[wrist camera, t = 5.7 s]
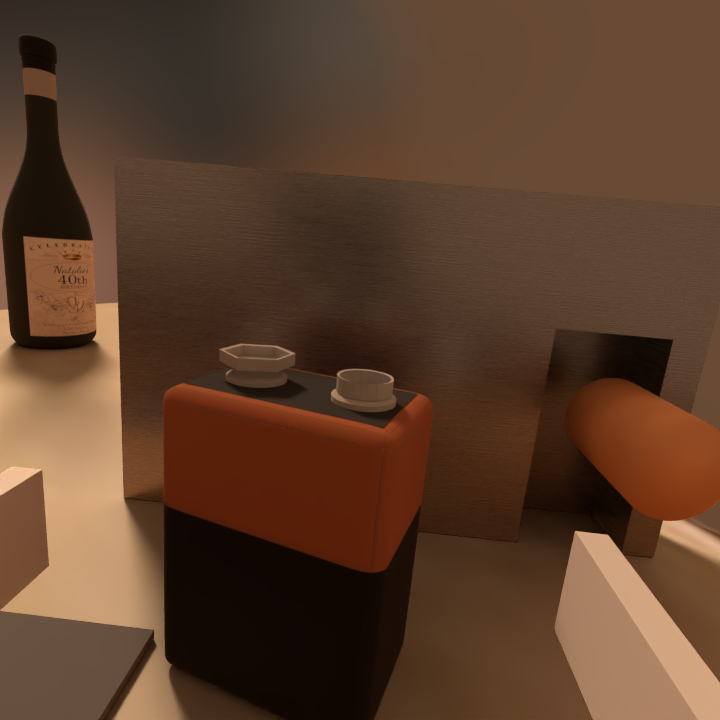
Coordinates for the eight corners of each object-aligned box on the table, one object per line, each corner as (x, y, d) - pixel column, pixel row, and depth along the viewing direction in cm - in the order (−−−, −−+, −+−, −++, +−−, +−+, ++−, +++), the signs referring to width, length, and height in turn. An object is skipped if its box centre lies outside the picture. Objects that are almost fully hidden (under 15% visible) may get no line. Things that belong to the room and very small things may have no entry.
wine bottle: (111, 343, 55) (102, 51, 48) (38, 354, 48) (15, 14, 41) (69, 332, 58) (55, 59, 51) (-5, 340, 51) (-33, 26, 44)
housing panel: (123, 497, 24) (113, 156, 20) (161, 462, 28) (158, 171, 24) (653, 557, 23) (744, 209, 19) (614, 512, 27) (684, 216, 23)
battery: (240, 582, 19) (248, 333, 16) (405, 644, 16) (442, 365, 14) (156, 667, 15) (153, 354, 12) (360, 766, 12) (401, 404, 10)
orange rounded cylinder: (609, 514, 16) (632, 413, 15) (557, 452, 21) (573, 373, 20) (718, 526, 16) (748, 425, 15) (641, 461, 21) (660, 382, 20)
